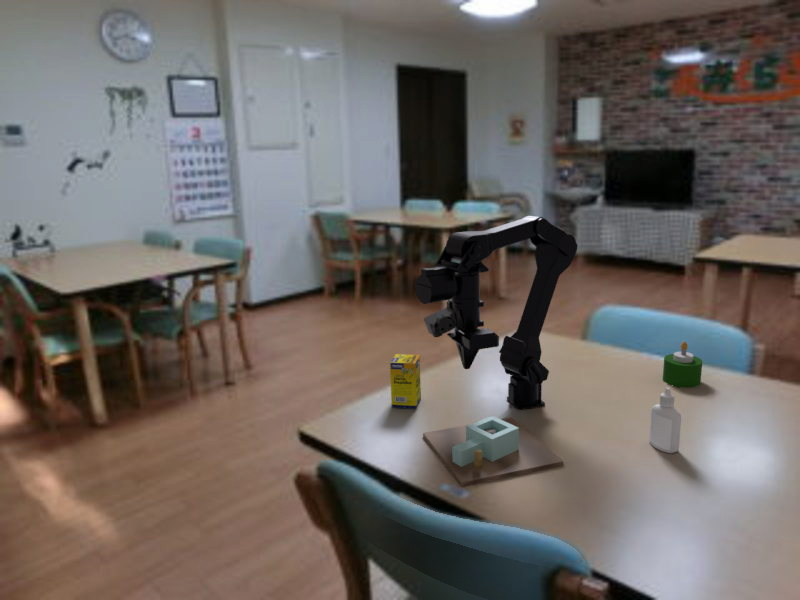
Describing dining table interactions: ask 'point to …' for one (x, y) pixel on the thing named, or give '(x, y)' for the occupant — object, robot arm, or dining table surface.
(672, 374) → the candle
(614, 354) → the dining table surface
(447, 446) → the board
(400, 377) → the supplement box
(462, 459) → the collar
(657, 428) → the eye dropper bottle
